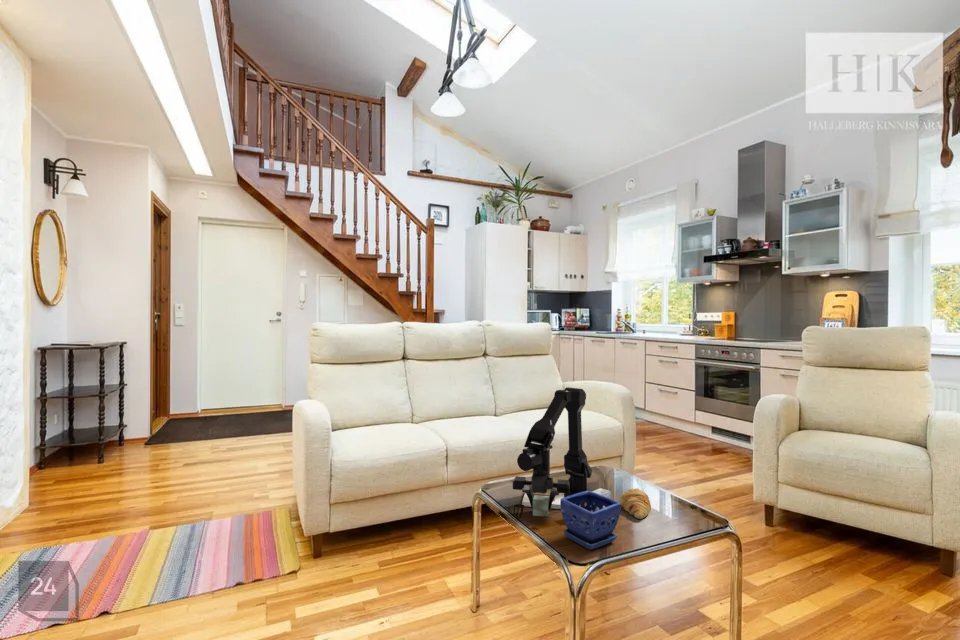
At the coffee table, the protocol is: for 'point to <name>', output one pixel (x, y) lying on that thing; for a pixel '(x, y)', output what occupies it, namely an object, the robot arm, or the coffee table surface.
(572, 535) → the flower pot
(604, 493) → the medicine box
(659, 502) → the coffee table surface
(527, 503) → the baseboard
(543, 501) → the sage cube
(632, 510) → the croissant
